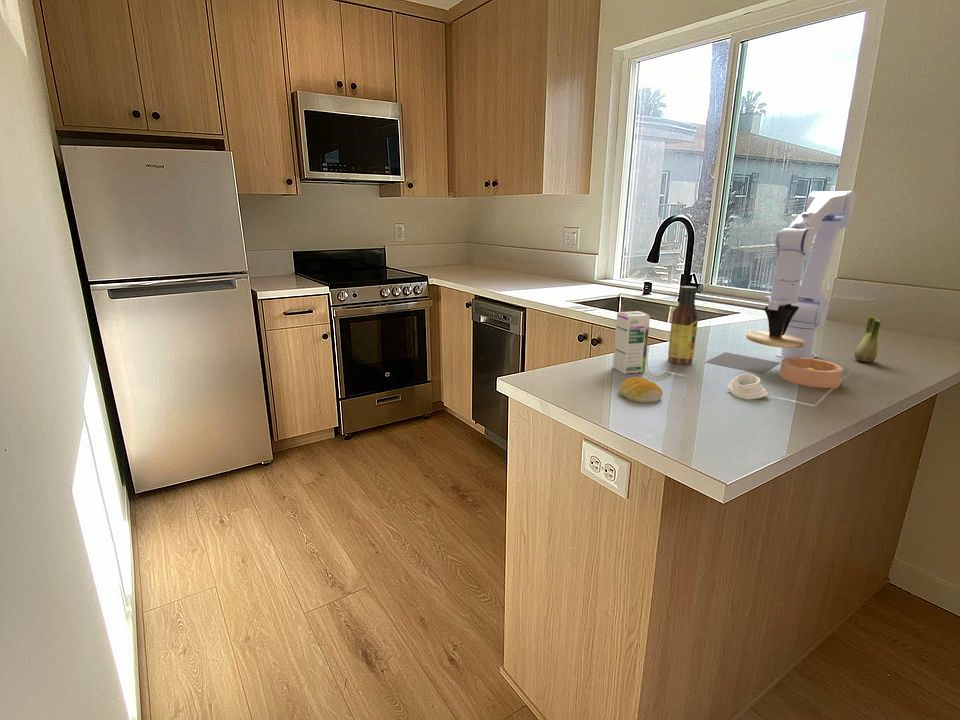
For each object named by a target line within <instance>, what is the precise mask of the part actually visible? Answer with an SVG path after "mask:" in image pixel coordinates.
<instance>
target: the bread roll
mask: <svg viewBox="0 0 960 720" xmlns="http://www.w3.org/2000/svg"><path fill="white" fill-rule="evenodd" d="M619 386H620V387H619V394H620V395H621V396H622V397H625V399H626V400H628V401H631V402H635V403H641V404H643V403H644V404H647V403H649V404H651V403H657V402H658V401H660V399H661V398H662V397H663V395H664V393H663V390H662V388H661V387H660V386H659V384H657V383H656V382H653V381H650V379H647V378H645V377H640V376H633V377H630V378H629V377H628V378H626V379H625V380H624V381H622V383H621V385H619Z"/></svg>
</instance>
